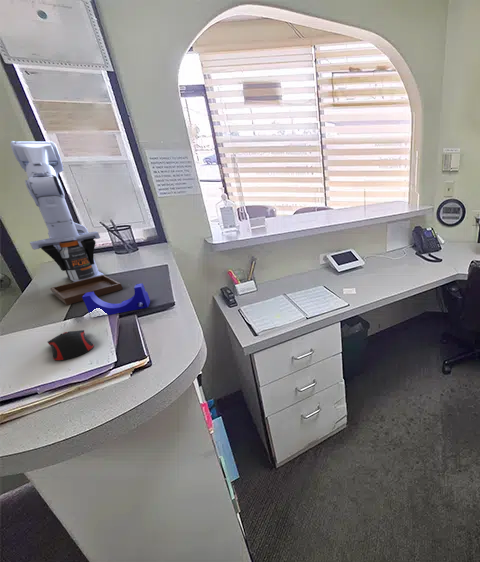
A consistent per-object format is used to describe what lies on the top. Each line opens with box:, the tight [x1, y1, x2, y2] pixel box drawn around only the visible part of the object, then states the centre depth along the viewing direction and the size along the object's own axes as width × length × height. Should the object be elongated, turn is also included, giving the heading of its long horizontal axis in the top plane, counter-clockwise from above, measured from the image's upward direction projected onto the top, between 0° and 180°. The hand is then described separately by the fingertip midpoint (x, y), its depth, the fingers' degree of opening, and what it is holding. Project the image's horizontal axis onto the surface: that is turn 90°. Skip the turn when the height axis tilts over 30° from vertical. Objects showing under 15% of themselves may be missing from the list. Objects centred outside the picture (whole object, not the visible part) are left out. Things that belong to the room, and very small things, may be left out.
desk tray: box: [50, 274, 124, 306], centre depth 95 cm, size 15×13×2 cm
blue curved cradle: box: [82, 282, 151, 316], centre depth 81 cm, size 12×4×6 cm, turn 117°
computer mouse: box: [47, 329, 95, 362], centre depth 65 cm, size 6×11×4 cm, turn 51°
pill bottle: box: [58, 240, 95, 282], centre depth 91 cm, size 6×6×11 cm
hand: (78, 266), depth 92 cm, fingers closed on pill bottle, 6 cm apart
